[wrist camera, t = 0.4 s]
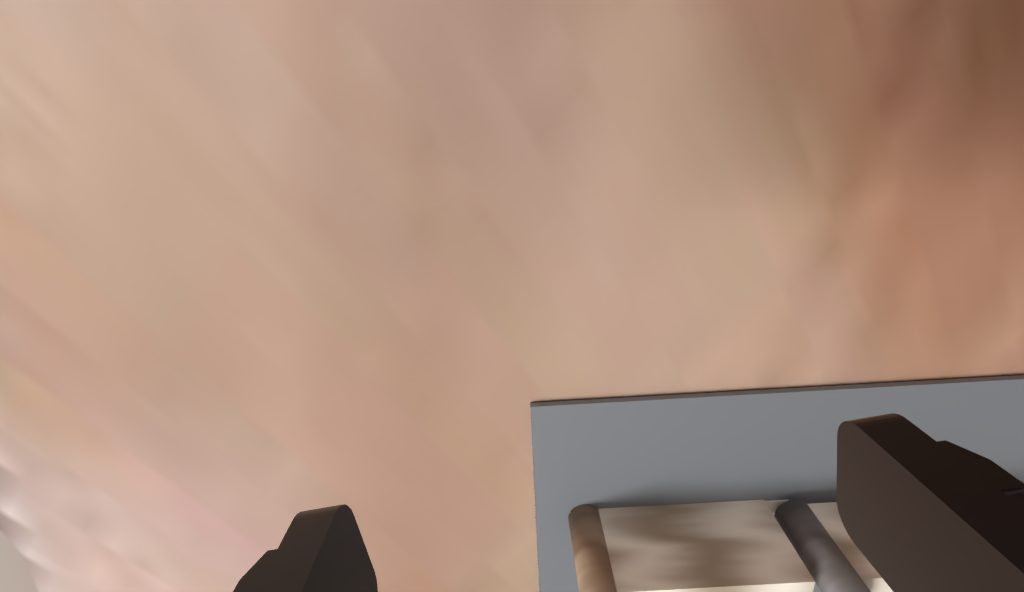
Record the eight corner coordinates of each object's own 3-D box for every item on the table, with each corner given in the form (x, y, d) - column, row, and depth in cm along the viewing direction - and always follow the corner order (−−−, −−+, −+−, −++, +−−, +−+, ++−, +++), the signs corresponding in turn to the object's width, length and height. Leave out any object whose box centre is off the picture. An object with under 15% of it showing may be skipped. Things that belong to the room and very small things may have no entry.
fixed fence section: (568, 530, 32) (582, 628, 26) (567, 505, 31) (582, 599, 25) (760, 520, 31) (816, 615, 26) (764, 494, 31) (823, 586, 25)
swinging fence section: (772, 526, 31) (826, 614, 26) (776, 500, 30) (833, 586, 25) (1011, 512, 31) (1114, 599, 26) (1022, 486, 30) (1130, 569, 25)
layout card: (530, 402, 28) (530, 407, 28) (1080, 371, 28) (1090, 376, 28) (543, 666, 37) (543, 674, 36) (968, 643, 37) (975, 650, 36)
